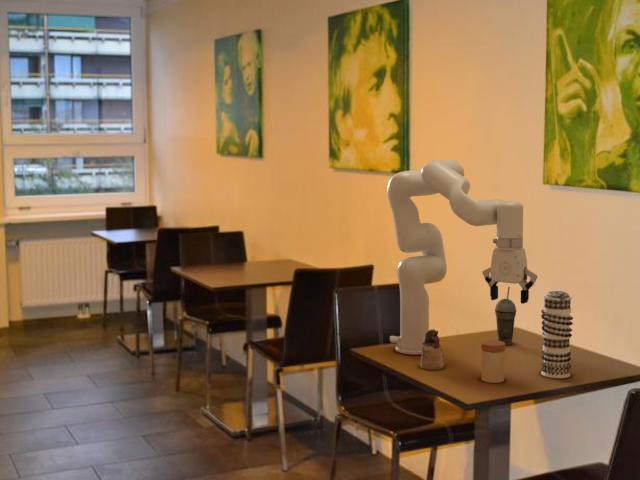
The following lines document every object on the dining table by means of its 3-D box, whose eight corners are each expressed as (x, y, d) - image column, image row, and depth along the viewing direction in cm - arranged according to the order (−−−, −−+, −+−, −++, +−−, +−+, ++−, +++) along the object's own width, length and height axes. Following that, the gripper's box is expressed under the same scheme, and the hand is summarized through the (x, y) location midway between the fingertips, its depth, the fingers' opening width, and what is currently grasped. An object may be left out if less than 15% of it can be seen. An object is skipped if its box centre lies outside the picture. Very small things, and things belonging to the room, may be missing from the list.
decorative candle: (535, 370, 272) (537, 290, 269) (564, 369, 273) (567, 289, 270) (545, 379, 263) (547, 295, 260) (576, 378, 264) (578, 294, 261)
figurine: (437, 363, 282) (437, 326, 280) (447, 368, 275) (448, 330, 274) (416, 365, 279) (416, 327, 278) (427, 371, 273) (427, 332, 271)
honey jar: (478, 381, 262) (478, 345, 260) (485, 375, 268) (485, 340, 266) (500, 383, 259) (500, 348, 257) (506, 378, 264) (507, 343, 263)
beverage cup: (502, 340, 312) (503, 283, 310) (520, 343, 307) (521, 286, 304) (489, 343, 307) (490, 286, 305) (507, 347, 302) (508, 289, 299)
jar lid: (478, 350, 261) (478, 344, 260) (485, 345, 266) (485, 339, 266) (500, 353, 257) (501, 346, 257) (507, 347, 263) (508, 341, 263)
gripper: (477, 243, 264) (476, 300, 266) (531, 246, 253) (530, 306, 255) (489, 240, 270) (489, 296, 272) (542, 244, 259) (542, 302, 261)
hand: (509, 301), depth 263 cm, fingers open, 9 cm apart
